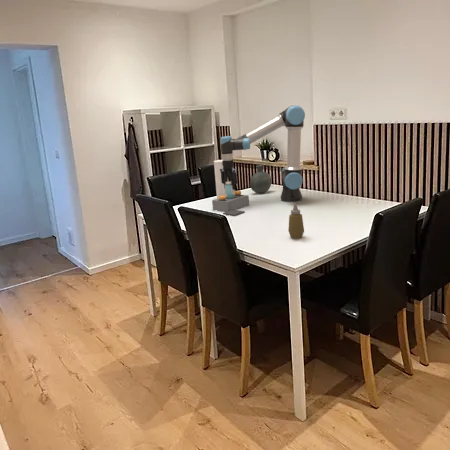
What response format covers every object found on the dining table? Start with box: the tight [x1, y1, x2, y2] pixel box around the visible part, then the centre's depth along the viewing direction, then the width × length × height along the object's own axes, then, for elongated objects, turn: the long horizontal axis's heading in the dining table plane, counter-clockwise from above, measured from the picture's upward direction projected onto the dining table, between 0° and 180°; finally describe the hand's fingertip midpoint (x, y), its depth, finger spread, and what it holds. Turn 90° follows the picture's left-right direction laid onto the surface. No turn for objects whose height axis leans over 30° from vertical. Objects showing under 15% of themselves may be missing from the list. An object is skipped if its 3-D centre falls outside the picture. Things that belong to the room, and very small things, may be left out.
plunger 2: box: [235, 190, 242, 196], centre depth 308 cm, size 5×5×9 cm
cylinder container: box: [213, 159, 229, 199], centre depth 326 cm, size 9×9×30 cm
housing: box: [211, 194, 250, 213], centre depth 303 cm, size 14×22×7 cm, turn 138°
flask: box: [249, 164, 272, 194], centre depth 340 cm, size 12×17×22 cm
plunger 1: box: [219, 195, 226, 201], centre depth 297 cm, size 5×5×9 cm
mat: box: [222, 209, 246, 217], centre depth 287 cm, size 10×10×1 cm
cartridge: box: [225, 180, 234, 199], centre depth 301 cm, size 5×5×18 cm
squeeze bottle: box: [288, 202, 305, 240], centre depth 225 cm, size 8×8×18 cm
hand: (230, 193), depth 301 cm, fingers open, 5 cm apart
